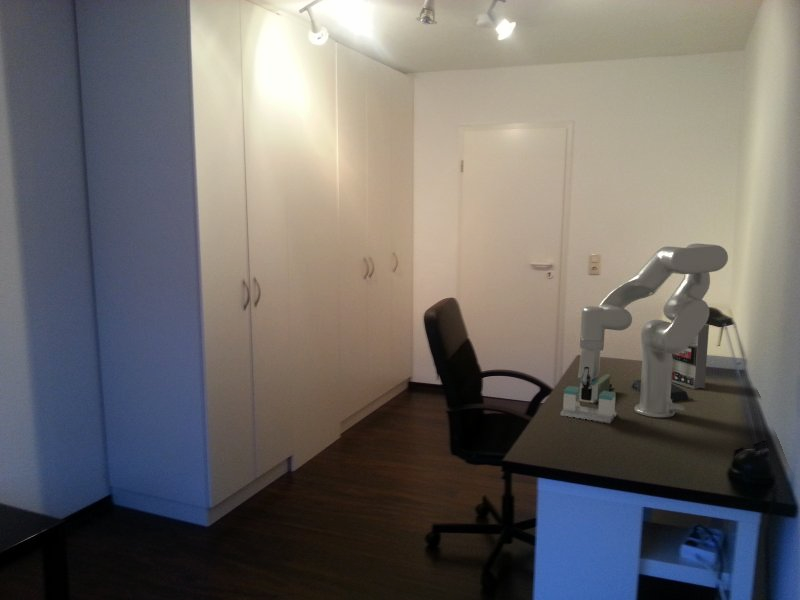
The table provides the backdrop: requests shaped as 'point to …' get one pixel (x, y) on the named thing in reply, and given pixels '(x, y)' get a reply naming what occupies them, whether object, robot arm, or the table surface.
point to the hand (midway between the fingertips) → (588, 396)
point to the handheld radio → (603, 386)
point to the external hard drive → (676, 391)
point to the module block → (594, 390)
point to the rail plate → (575, 410)
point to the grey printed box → (692, 362)
